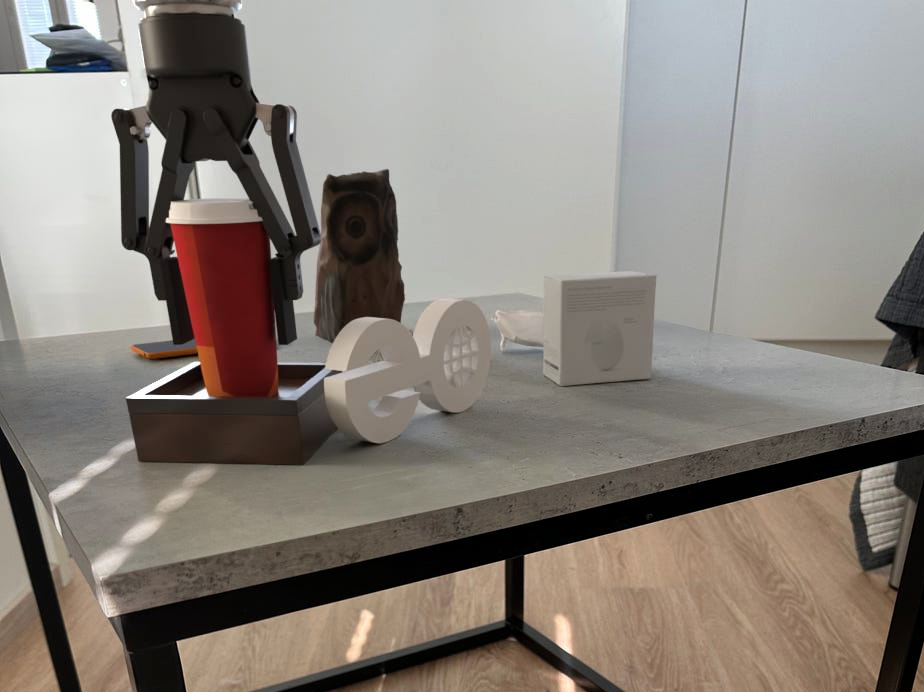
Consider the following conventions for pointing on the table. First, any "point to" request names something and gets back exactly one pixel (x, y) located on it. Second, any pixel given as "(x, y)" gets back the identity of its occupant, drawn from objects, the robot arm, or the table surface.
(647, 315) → the cosmetics box
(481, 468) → the table surface
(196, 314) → the coffee cup
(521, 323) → the pale pink animal figure
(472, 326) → the letter
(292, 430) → the dark brown tray
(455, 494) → the table surface
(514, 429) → the table surface
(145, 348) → the smartphone
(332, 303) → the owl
